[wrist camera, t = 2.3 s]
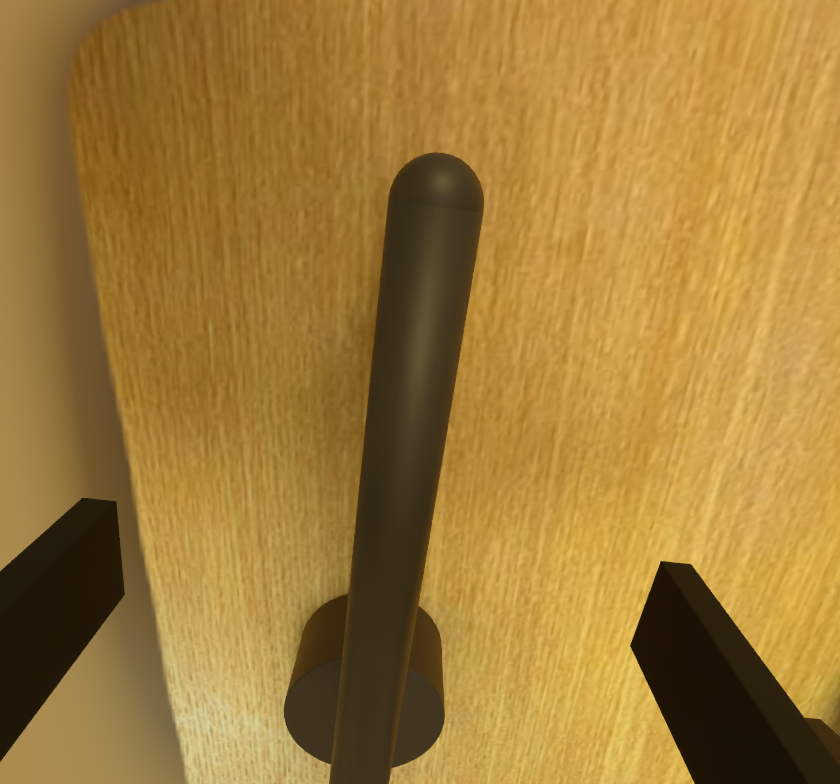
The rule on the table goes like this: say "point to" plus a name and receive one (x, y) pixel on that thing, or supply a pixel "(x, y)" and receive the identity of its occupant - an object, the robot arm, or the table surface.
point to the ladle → (395, 495)
